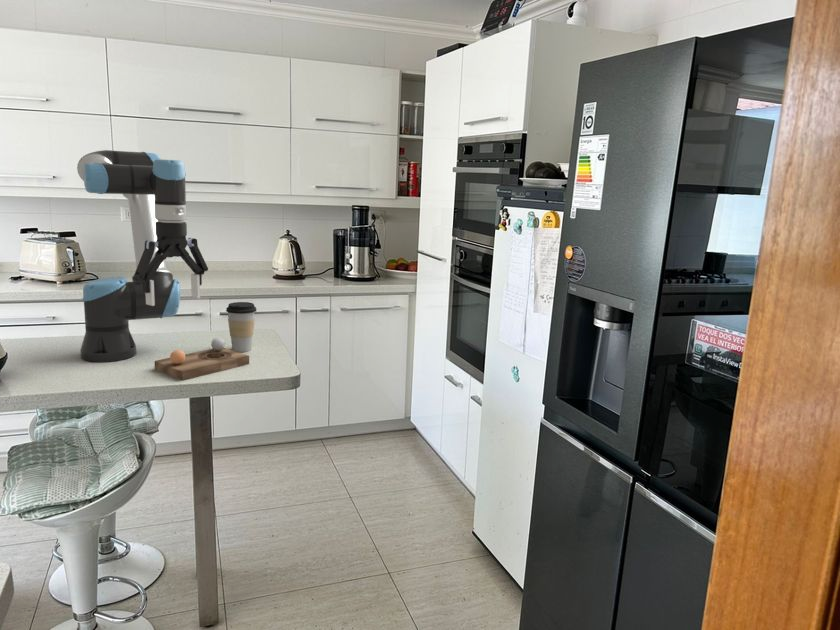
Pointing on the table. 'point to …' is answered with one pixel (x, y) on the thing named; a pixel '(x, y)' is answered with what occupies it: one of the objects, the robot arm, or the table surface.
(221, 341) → the grey ball
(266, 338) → the table surface
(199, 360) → the brown wooden board
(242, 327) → the coffee cup
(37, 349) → the table surface
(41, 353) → the table surface
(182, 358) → the ball
